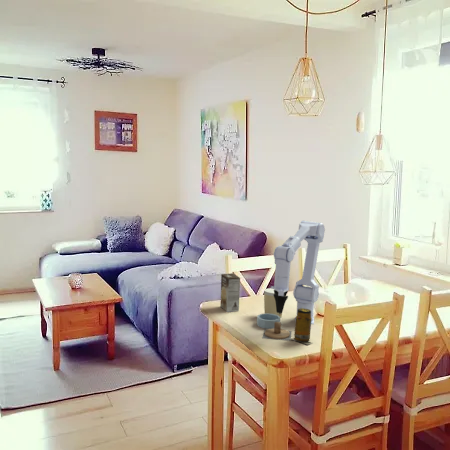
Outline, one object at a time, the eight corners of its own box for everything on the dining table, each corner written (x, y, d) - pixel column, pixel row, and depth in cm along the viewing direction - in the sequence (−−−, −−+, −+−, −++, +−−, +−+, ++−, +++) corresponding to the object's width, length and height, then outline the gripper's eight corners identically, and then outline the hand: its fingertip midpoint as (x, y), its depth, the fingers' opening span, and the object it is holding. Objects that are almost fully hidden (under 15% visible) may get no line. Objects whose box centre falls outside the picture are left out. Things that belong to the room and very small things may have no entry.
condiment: (299, 336, 193) (302, 306, 192) (317, 341, 187) (320, 311, 186) (289, 339, 187) (291, 309, 186) (307, 345, 182) (310, 314, 181)
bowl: (258, 321, 209) (258, 312, 209) (280, 323, 208) (280, 314, 207) (255, 328, 200) (256, 319, 200) (278, 330, 198) (279, 321, 198)
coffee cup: (282, 320, 211) (283, 294, 210) (261, 318, 213) (262, 292, 211) (284, 314, 220) (285, 288, 219) (264, 312, 222) (265, 287, 220)
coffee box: (219, 306, 229) (220, 273, 227) (232, 305, 231) (233, 273, 229) (226, 312, 221) (227, 278, 219) (239, 311, 223) (240, 277, 221)
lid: (265, 329, 198) (266, 318, 198) (290, 331, 196) (290, 320, 196) (263, 337, 188) (264, 325, 188) (289, 340, 187) (289, 328, 186)
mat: (264, 329, 199) (264, 328, 199) (291, 332, 197) (291, 331, 197) (262, 339, 188) (262, 338, 188) (290, 341, 186) (290, 340, 186)
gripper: (272, 272, 198) (269, 305, 198) (271, 278, 183) (268, 313, 184) (289, 274, 197) (286, 306, 198) (290, 280, 182) (287, 315, 183)
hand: (279, 310), depth 191 cm, fingers open, 7 cm apart
